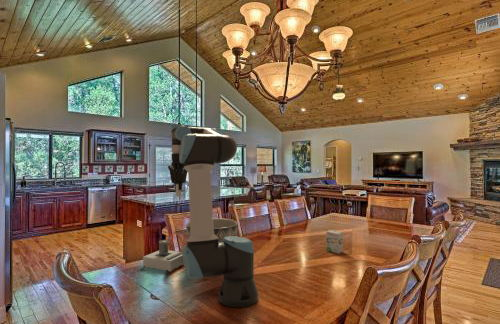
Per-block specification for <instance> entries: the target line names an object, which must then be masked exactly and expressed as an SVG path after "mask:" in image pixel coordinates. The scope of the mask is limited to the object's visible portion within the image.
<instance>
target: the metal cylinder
mask: <svg viewBox="0 0 500 324" xmlns="http://www.w3.org/2000/svg"><path fill="white" fill-rule="evenodd" d="M168 250H169V239H161V240H159V241H158V251H159V256H160V257H166V256H168Z"/></svg>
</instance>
